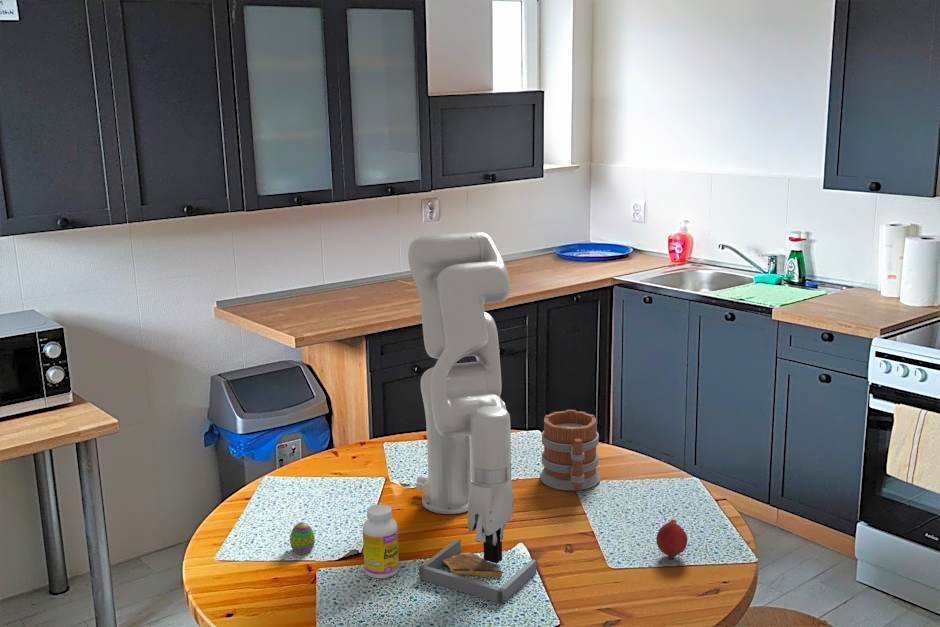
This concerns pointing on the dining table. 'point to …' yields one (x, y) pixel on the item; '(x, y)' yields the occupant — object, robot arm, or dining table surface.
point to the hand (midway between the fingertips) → (492, 559)
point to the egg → (302, 538)
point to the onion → (671, 539)
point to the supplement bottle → (380, 542)
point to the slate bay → (470, 586)
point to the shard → (471, 565)
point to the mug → (570, 451)
